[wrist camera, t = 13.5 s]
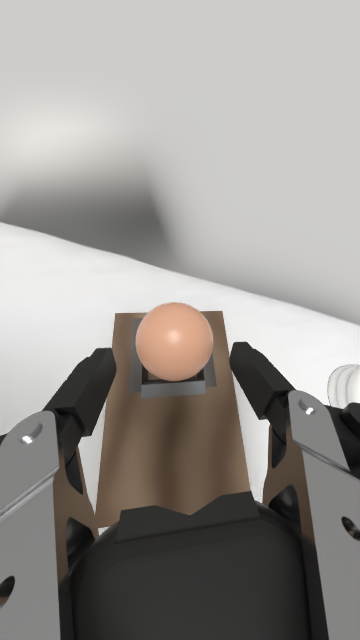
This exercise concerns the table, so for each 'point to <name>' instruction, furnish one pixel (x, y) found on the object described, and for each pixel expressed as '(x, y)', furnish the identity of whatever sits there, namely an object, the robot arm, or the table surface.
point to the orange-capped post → (174, 341)
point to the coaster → (344, 386)
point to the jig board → (169, 432)
